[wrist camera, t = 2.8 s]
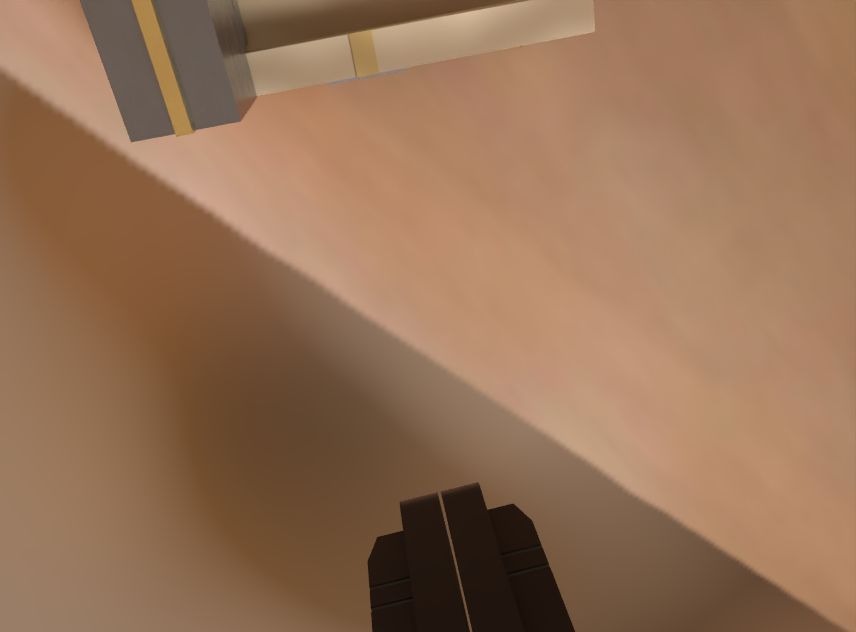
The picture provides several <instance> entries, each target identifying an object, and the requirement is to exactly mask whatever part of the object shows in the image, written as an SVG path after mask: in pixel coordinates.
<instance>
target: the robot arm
mask: <svg viewBox="0 0 856 632" xmlns="http://www.w3.org/2000/svg"><path fill="white" fill-rule="evenodd" d="M441 494H442V499H443V503H444V508H445V512H446V517H447V521H448V525H449V530H450V534H451V539H452V543H453V548H454V552H455V556H456V561H457V565H458V570H459V574H460V578H461V583H462V587H463V592H464V596H465V601H466V605H467V610H468V614H469V618H470V623H471V627H472V631H473V632H575V630H574V628H573V625H572V622H571V620H570V617H569V615H568V612H567V610H566V607H565V604H564V602H563V599H562V597H561V594H560V592H559V589H558V587H557V584H556V581H555V579H554V576H553V573H552V571H551V569H550V567H549V563H548V561H547V558H546V555H545V553H544V550H543V548H542V546H541V542H540V540H539V537H538V535H537V532H536V529H535V527H534V524H533V522H532V520H531V519H530V518H529V517H527V516H526V515H525V514H524V513H523V512H522V511H521V510H520V509H519V508H518V507H517V506H515V505H514V504H510V505H506V506H502V507H497V508H493V509H489V510H487V508H486V505H485V502H484V498H483V495H482V492H481V489H480V485H479V483H478V482H477V483H473V484H469V485H465V486H461V487H457V488H453V489H449V490H445V491H441ZM400 509H401V517H402V524H403V531H400V532H396V533H392V534H388V535H384V536H380V537H377V539H376V542H375V545H374V547H373V549H372V552H371V554H370V557H369V559H368V573H369V587H370V602H371V610H372V612H371V617H372V630H373V632H470V630H469V625H468V621H467V616H466V612H465V608H464V603H463V598H462V594H461V589H460V585H459V580H458V576H457V572H456V567H455V564H454V559H453V555H452V550H451V546H450V542H449V538H448V534H447V530H446V525H445V521H444V517H443V513H442V509H441V505H440V501H439V497H438V493H433V494H429V495H425V496H421V497H416V498H413V499H408V500H404V501H401V502H400Z"/></svg>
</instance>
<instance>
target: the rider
mask: <svg viewBox="0 0 856 632" xmlns="http://www.w3.org/2000/svg"><path fill="white" fill-rule="evenodd" d="M80 2H81V5H82V8H83V10H84V13H85V16H86V19H87V21H88V24H89V27H90V30H91V32H92V35H93V38H94V41H95V44H96V46H97V49H98V52H99V55H100V57H101V60H102V63H103V66H104V69H105V71H106V74H107V77H108V80H109V82H110V85H111V88H112V91H113V93H114V96H115V99H116V102H117V105H118V107H119V110H120V113H121V116H122V118H123V121H124V124H125V127H126V129H127V132H128V135H129V138H130V141H131V142H135V141H141V140H146V139H151V138H156V137H162V136H167V135H172V134H176V137H177V136H182V135H188V134H193V133H194V132H195V131H196V130H198V129H203V128H209V127H214V126H219V125H224V124H229V123H235V122H240V121H241V120H242V119H243V117H244V116H245V114H246V113H247V111H248V110H249V108H250V107H251V105H252V104H253V103H254V101H255V100H256V98H257V94H256V90H255V87H254V83H253V79H252V76H251V72H250V68H249V64H248V61H247V57H246V53H245V50H244V46H246V45H247V44H248V40H247V36H246V33H245V29H244V25H243V21H242V17H241V14H240V10H239V6H238V2H237V0H235V1H231V0H80Z"/></svg>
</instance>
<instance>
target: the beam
mask: <svg viewBox="0 0 856 632" xmlns="http://www.w3.org/2000/svg"><path fill="white" fill-rule="evenodd" d="M231 1H235V0H231ZM237 2H238V6H239V10H240V14H241V17H242V21H243V25H244V29H245V33H246V36H247V40H248V44H247V45H246V46H244V50H245V53H246V57H247V61H248V64H249V68H250V72H251V76H252V79H253V83H254V87H255V90H256V94H257V96H260V95H266V94H271V93H276V92H281V91H287V90H292V89H297V88H302V87H308V86H313V85H318V84H323V83H327V85H331V84H336V83H341V82H346V81H352V80H357V79H362V78H367V77H373V76H378V75H383V74H389V73H394V72H399V71H404V70H407V69H406V68H408V67H413V66H418V65H423V64H429V63H434V62H439V61H444V60H450V59H455V58H460V57H465V56H471V55H476V54H481V53H487V52H492V51H497V50H502V49H508V48H513V47H518V46H523V45H529V44H534V43H539V42H544V41H550V40H555V39H560V38H565V37H571V36H576V35H581V34H586V33H592V32H595V22H594V1H593V0H237Z"/></svg>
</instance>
